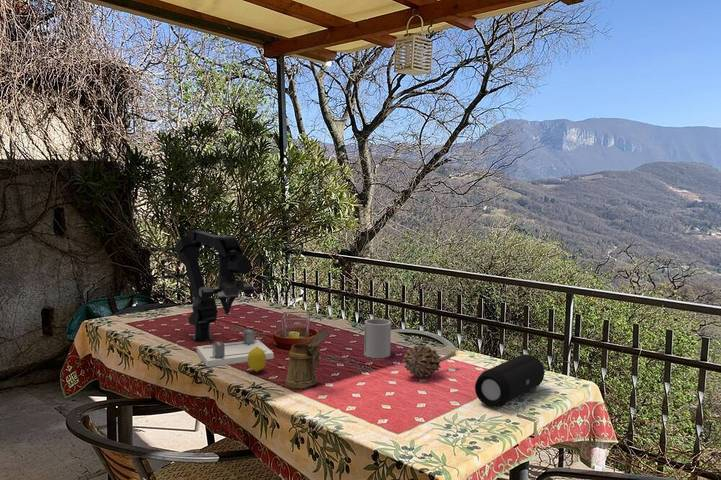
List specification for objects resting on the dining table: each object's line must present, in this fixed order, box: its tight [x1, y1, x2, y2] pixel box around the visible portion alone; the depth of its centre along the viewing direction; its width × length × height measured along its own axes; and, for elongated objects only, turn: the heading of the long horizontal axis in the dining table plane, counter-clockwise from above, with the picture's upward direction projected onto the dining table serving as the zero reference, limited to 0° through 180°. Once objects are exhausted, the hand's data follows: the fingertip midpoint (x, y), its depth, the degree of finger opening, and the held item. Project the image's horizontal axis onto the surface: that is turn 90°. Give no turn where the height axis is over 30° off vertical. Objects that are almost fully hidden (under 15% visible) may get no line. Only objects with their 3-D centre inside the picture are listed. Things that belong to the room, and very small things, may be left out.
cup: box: [363, 318, 392, 358], centre depth 184 cm, size 9×9×12 cm
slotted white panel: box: [196, 339, 275, 368], centre depth 182 cm, size 18×22×2 cm
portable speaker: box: [474, 353, 546, 408], centre depth 148 cm, size 26×10×10 cm, turn 137°
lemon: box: [247, 347, 267, 373], centre depth 165 cm, size 6×6×8 cm
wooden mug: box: [284, 327, 328, 389], centre depth 154 cm, size 9×14×18 cm, turn 54°
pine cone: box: [402, 344, 458, 378], centre depth 166 cm, size 22×10×10 cm, turn 133°
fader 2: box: [242, 328, 256, 344], centre depth 190 cm, size 4×3×4 cm
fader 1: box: [212, 341, 225, 358], centre depth 173 cm, size 4×3×4 cm
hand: (226, 314), depth 191 cm, fingers closed
